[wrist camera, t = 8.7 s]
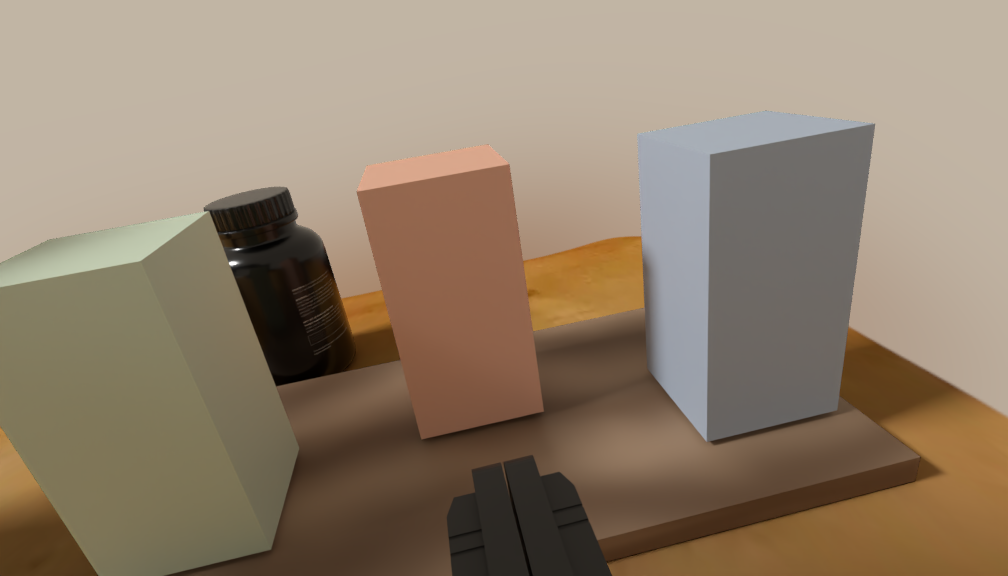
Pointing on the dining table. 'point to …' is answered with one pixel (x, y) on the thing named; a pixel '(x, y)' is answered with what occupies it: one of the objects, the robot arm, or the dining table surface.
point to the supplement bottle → (284, 285)
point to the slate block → (751, 264)
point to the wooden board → (548, 462)
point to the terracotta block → (454, 286)
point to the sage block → (143, 397)
